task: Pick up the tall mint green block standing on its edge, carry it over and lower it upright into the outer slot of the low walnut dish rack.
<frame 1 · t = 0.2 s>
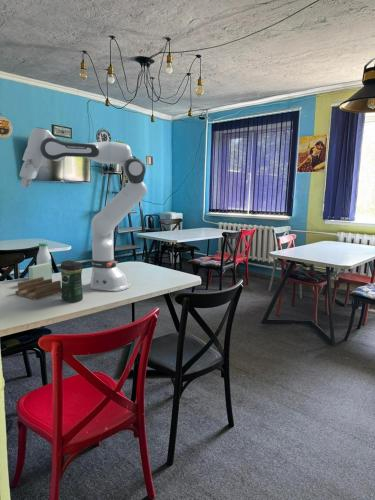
hand: (24, 186, 171), 51 cm above the table, tool tilted 20°, fingers open, 8 cm apart
tall mint green block: (41, 282, 187), on the table
milk bottle: (44, 277, 199), on the table
coffee jar: (72, 300, 162), on the table
rack: (40, 292, 170), on the table
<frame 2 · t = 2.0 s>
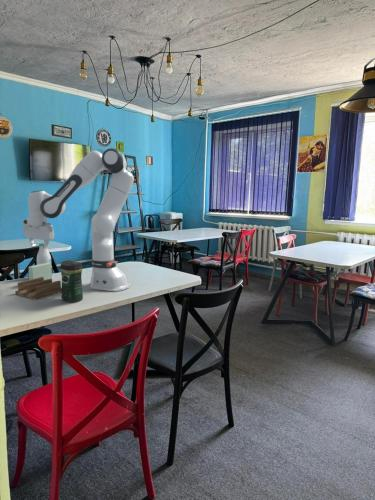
hand: (39, 247, 184), 20 cm above the table, tool pointing down, fingers open, 8 cm apart
nothing on the table moved.
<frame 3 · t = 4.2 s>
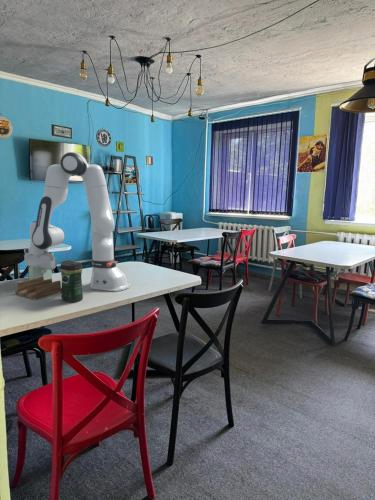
hand: (40, 275, 187), 4 cm above the table, tool pointing down, fingers closed on tall mint green block, 3 cm apart
tall mint green block: (41, 282, 187), on the table, touching gripper
everything else where it was.
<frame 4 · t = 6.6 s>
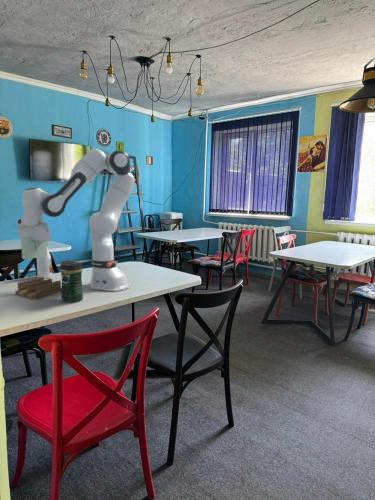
hand: (34, 248, 171), 21 cm above the table, tool pointing down, fingers closed on tall mint green block, 3 cm apart
tall mint green block: (34, 257, 172), point 17 cm above the table, touching gripper
everything else where it was.
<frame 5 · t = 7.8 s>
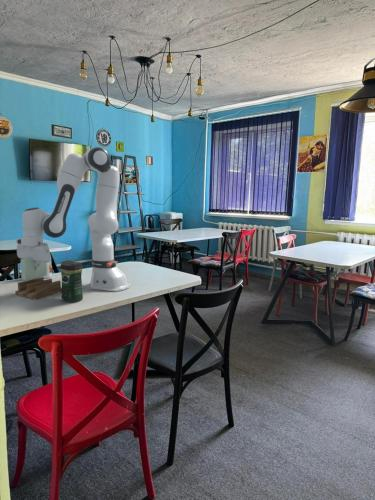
hand: (34, 268, 170), 12 cm above the table, tool pointing down, fingers closed on tall mint green block, 3 cm apart
tall mint green block: (34, 277, 170), point 7 cm above the table, touching gripper
everything else where it was.
when the fingers open (7 cm above the table, at t = 9.0 s): tall mint green block drops 1 cm, resting on rack.
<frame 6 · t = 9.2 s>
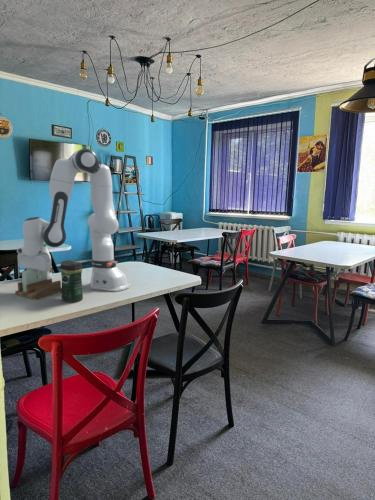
hand: (35, 277, 171), 7 cm above the table, tool pointing down, fingers open, 5 cm apart
tall mint green block: (35, 288, 172), point 1 cm above the table, touching rack
everything else where it was.
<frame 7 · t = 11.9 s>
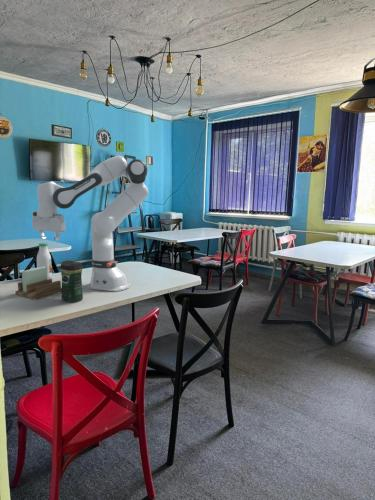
hand: (50, 239, 180), 24 cm above the table, tool pointing down, fingers open, 8 cm apart
nothing on the table moved.
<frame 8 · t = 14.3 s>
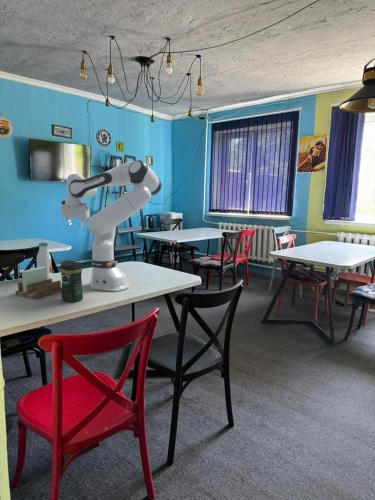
hand: (75, 225, 205), 29 cm above the table, tool pointing down, fingers open, 8 cm apart
nothing on the table moved.
at the end: tall mint green block 0.0 cm from the target spot on the rack, point 1.5 cm above the rack's base; tall mint green block tilted 0°; the gripper is holding nothing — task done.
